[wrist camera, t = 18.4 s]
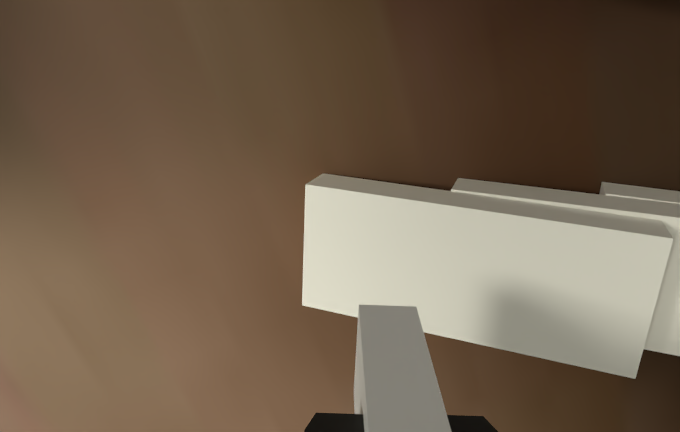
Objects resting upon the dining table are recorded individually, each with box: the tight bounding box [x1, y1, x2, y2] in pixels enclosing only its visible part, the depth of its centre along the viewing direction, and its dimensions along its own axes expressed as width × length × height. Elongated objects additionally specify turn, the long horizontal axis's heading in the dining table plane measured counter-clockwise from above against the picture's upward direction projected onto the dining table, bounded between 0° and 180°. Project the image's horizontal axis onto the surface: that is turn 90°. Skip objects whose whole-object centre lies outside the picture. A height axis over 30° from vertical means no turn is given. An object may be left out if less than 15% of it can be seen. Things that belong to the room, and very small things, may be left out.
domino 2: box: [451, 178, 680, 356], centre depth 20 cm, size 2×5×12 cm
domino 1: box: [302, 173, 673, 379], centre depth 20 cm, size 2×5×12 cm
